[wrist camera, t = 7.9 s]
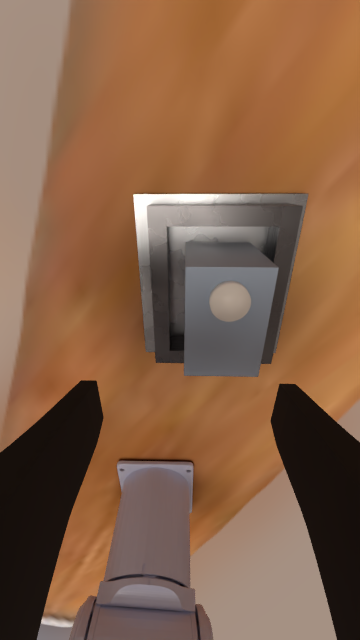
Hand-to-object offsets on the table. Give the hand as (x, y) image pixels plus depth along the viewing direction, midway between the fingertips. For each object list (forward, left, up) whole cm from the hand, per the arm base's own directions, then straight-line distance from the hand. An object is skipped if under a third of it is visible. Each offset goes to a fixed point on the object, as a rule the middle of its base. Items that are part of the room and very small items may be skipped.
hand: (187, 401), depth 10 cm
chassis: (+2, -2, -9) cm, 10 cm away
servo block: (+2, -2, -9) cm, 9 cm away
